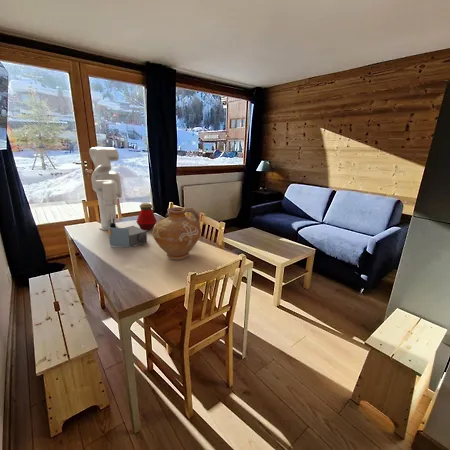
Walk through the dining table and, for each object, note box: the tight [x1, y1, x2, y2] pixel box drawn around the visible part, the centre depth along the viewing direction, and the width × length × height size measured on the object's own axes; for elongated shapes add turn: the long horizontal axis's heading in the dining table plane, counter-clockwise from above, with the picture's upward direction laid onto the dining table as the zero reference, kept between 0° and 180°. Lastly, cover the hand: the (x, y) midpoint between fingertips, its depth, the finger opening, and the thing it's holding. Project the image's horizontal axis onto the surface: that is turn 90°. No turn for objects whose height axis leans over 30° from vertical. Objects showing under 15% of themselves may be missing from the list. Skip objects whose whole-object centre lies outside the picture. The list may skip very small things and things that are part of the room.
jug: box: [152, 206, 202, 261], centre depth 148 cm, size 28×28×30 cm
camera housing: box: [125, 225, 148, 248], centre depth 169 cm, size 18×12×8 cm, turn 50°
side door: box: [107, 227, 131, 248], centre depth 158 cm, size 12×2×12 cm, turn 89°
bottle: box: [135, 202, 158, 231], centre depth 193 cm, size 16×14×20 cm
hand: (113, 229), depth 160 cm, fingers closed
